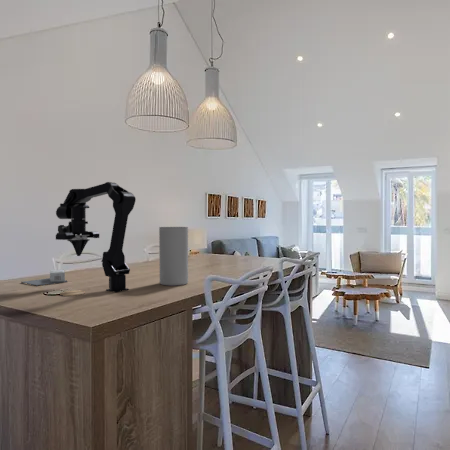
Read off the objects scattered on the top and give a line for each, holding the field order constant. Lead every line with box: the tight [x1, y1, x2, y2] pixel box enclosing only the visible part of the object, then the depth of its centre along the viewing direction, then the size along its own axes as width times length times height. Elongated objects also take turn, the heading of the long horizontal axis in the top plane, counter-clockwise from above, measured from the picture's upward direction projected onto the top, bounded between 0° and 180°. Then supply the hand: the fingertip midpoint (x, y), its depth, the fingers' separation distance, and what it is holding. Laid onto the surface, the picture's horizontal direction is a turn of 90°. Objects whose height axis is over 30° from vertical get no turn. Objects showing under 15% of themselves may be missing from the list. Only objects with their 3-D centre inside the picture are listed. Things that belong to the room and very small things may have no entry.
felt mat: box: [22, 277, 68, 287], centre depth 168 cm, size 14×14×1 cm
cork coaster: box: [59, 290, 86, 297], centre depth 142 cm, size 9×9×1 cm
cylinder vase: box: [158, 226, 189, 287], centre depth 164 cm, size 12×12×25 cm
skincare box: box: [49, 269, 66, 282], centre depth 171 cm, size 6×4×12 cm
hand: (78, 255), depth 157 cm, fingers closed
